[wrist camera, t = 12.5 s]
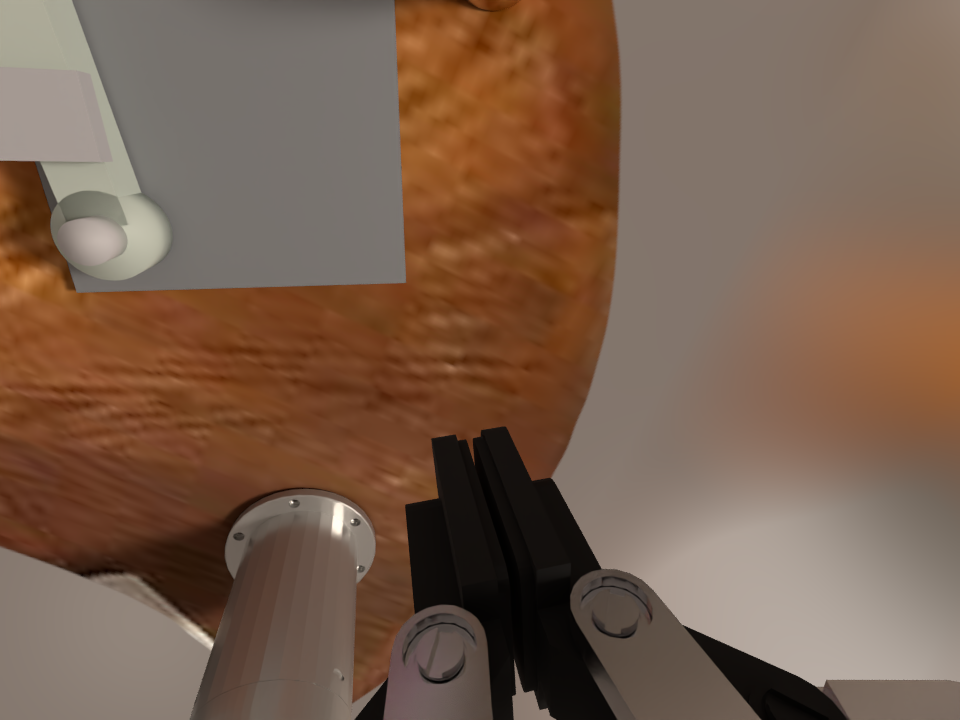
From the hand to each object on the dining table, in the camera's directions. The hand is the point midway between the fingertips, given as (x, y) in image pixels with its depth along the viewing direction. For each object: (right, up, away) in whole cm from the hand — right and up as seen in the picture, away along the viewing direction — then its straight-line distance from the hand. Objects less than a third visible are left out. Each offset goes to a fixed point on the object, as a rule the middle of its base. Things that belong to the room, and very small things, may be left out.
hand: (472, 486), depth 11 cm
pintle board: (-16, +17, +19) cm, 30 cm away
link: (-22, +17, +16) cm, 32 cm away
